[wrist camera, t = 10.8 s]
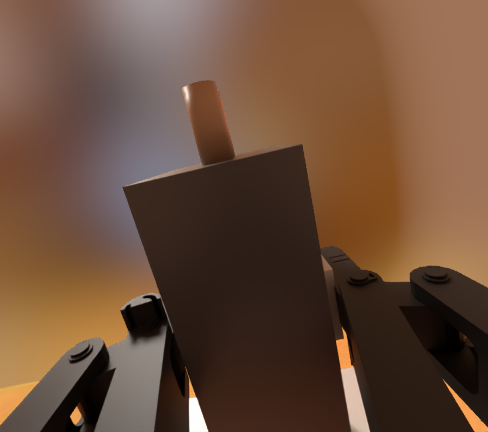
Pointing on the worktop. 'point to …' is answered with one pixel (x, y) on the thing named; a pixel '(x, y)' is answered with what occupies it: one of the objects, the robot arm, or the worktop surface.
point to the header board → (352, 399)
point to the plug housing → (243, 280)
